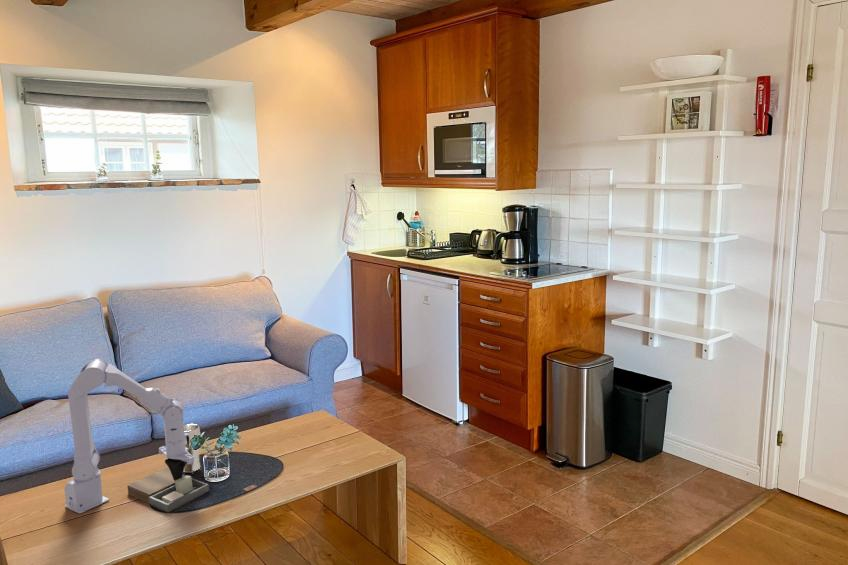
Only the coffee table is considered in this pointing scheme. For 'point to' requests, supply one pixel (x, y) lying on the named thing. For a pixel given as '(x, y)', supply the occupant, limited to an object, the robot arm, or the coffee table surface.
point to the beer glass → (189, 434)
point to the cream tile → (171, 497)
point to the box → (168, 507)
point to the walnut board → (151, 484)
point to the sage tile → (184, 485)
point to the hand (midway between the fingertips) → (177, 479)
